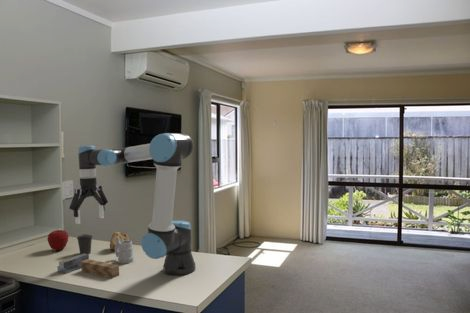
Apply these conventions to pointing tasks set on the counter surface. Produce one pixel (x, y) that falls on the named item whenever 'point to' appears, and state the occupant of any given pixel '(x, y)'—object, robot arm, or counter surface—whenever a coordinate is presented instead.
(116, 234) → the rock
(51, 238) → the apple
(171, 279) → the counter surface
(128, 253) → the mug
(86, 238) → the coffee cup
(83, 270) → the walnut bar
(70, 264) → the ridge
